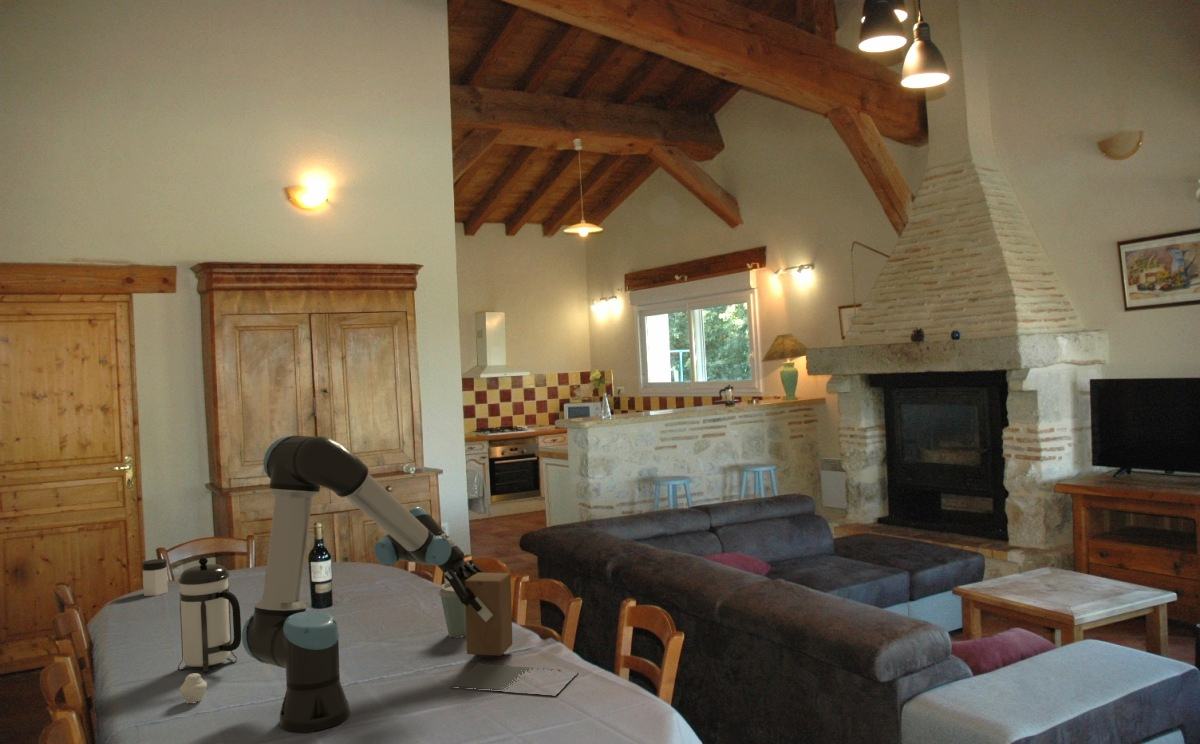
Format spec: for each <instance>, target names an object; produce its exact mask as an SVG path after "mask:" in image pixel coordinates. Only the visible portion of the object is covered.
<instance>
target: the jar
mask: <svg viewBox="0 0 1200 744" xmlns="http://www.w3.org/2000/svg"><path fill="white" fill-rule="evenodd" d="M167 564H168V563H167V559H165V558H155V559H150V560H149V559H148V560H145V561H143V562H142V563H141V569H142V587H143V595H144V597H152V596H154V597H157V596H160V595H163V594H167V593H168V572H167V571H168V569H167V566H168V565H167Z"/></svg>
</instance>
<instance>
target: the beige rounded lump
mask: <svg viewBox="0 0 1200 744" xmlns="http://www.w3.org/2000/svg"><path fill="white" fill-rule="evenodd" d="M184 678H185V679H184V682H183V683H182V685H181V686H180V688H179V692H180V694H181V696H182V698H183V699H184V701H185V702H186V703H187V702H188V703H193V702H197V701H200V700H201V701H202V700H203V698H204V697H205V693H206V691H207V688H208V683H207V682H206V681H205V680H204V679H203V678H202V675H201V674H200V673H195V672H194V673H193V672H192V673H190V674H187V676H186V677H184ZM201 701H200V702H201ZM188 703H187V704H188Z"/></svg>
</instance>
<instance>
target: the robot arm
mask: <svg viewBox="0 0 1200 744" xmlns="http://www.w3.org/2000/svg"><path fill="white" fill-rule="evenodd" d="M263 469H264V473H265V474H266V476H267V477H268V479H270V482H269V491H270V492H271V494H273V496H274V504H273V511H272V518H271V519H272V520H271V526H270V527H271V528H270V535H269V545H268V551H267V552H268V553H267V560H266V562H267V563H266V569H265V577H264V585H263V591H262V592H263V595H262V598H261V599H260V600H259V601H258V602H257V603H256V604H255V605H254V611H253V613H252V614H251V615H250V616H249V619H247V620H246V621H245V622H244V626H243V628H242V631H241V641H242V645H243V648H244V650H245V651H246V653H247V654H248V655H249V656H250V657H251V658H253V659H255V660H257V661H258V662H260V663H262V664H266V665H267V664H268V665H272V666H276V667H278V668H281V669H282V668H283V669H285V678H286V680H285V681H286V691H285V695H284V698H283V700H282V705H281V708H280V712H279V727H281V729H283V730H284V731H288V732H293V733H307V732H308V733H309V732H316V731H322V730H325V729H330V728H331V727H332V728H333V727H334V726H337V725H338V724H341V723H342V722H344V721H346V720H347V718H349V715H350V703H349V702H348V700H347V697H346V694H345V691H344V688H343V686H342V684H341V680H340V679H341V676H340V671H341V670H340V654H339V653H340V650H339V649H340V648H339V645H340V644H339V637H340V636H339V635H340V633H339V628H338V622H337V620H336V618H335V617H334V616H333V615H332V614H329V613H327V612H323V611H314V610H312V611H311V610H309V611H308V610H306V609H307V604H305V603H304V601H303V600H302V588H303V582H304V581H303V579H304V570H305V563H306V554H307V547H308V538H309V528H310V520H311V512H312V511H311V510H312V502H313V499H314V498H315V497H316V496H318V494H320V490H321V487H323V488H326V489H328V490H330V491H332V492H333V493H334V494H335V495H337V496H338V497H340V498H347V499H348V500H349V501H351V502H352V503H353V504H354V505H355V506H356V507H357V508H358V509H359V510H361V512H363V514H365V515H366V516H367V517H368V518H370V520H371V521H373V522H374V523H375V524H376V525H377V526H378V527H380V528H381V529H382V530H383V531H384V532H386V533H387V535H384V536H383V537H382V538H381V539H379V540H378V541H376V542H375V543H374V546H373V553H374V555H375V558H376V560H377V561H378V562H379V563H380V564H381V565H382V566H384V567H391V566H392V565H394V564H397V563H398V562H399V561H403V562H409V563H417V564H421V565H428V566H429V567H430V566H437V567H438V568H439V569H440V570H441V572H442V573H444V574H445V575H444V576H443V577H444V579H445V580H446V581H447V583H448V582H449V583H450V584H451V586H452V588H453V589H454V591H455V593H456V594H457V596H458V598H459V599H460V601H461V602H462V604H464V605H465V606H468V605H469V604H470V605H471V606H472V607H473V608H474V610H475V611H476V612H477V613H478V614H479V615H480V616H481V617H482V619H483V620H484V621H485V622H487V621H488V620H489V619H490V618H491V617H492V616H493V614H492V613H491V612H490V610H489V609H488V608H487V607H486V606H485V605H484V604H483V603H482V601H481V600H480V599H479V598H478V597H476V598H475V596H474V594H473V592H472V591H471V590H470V589H469V588H468V587H467V588H466V589H465V580H467V579H468V578H470V577H471V576H473V575H474V574H477V573H478V572H480V573H487V572H486V571H484V570H483V569H482V568H481V567H480V566H478V565H477V564H476V563H475V561H474V560H472V559H470V560H469V561H468V562H467V561H465V560H464V557H465V553H464V552H463V551H462V550H461V548H460V547H459V546H458V545H456V544H455V542H454V541H453V540H452V538H450V535H449V534H447V533H446V532H445V531H444V530H443V529H442V527H441V526H440V525H439V523H438V522H436V521H435V520H434V518H433V517H432V516H431V514H429V513H428V512H427V511H426V510H425V509H424V507H421V506H415V507H413V508H411V509H410V510H408V509H407V508H406V507H405V506H404V505H403V504H402V503H400V501H399V500H398V499H396V498H395V497H394V496H393V495H392V494H391V493H390V492H389V491H388V490H387V489H385V487H383V486H382V485H381V483H379V482H378V481H377V480H376V479H375V478H374V477H373V476H372V475H370V470H369V467H368V466H367V465H366V464H365V463H364V462H363V461H362V460H361V459H360V458H359V457H358V456H357V455H355V454H354V453H353V452H352V451H350V450H349V449H348V448H346V447H345V446H344V445H342V444H341V443H340V442H338V441H337V440H334V439H333V438H329V437H327V436H317V435H316V436H311V435H310V436H308V435H298V434H297V435H290V436H289V435H288V436H284V437H280V438H278V439H276V440H275V441H274V442H273V443H271V445H269V447H268V448H267V450H266V452H265V453H264V457H263ZM463 597H464V598H463ZM474 598H475V599H474Z"/></svg>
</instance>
